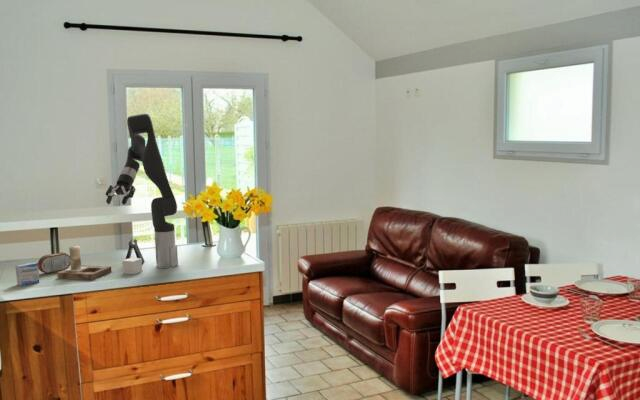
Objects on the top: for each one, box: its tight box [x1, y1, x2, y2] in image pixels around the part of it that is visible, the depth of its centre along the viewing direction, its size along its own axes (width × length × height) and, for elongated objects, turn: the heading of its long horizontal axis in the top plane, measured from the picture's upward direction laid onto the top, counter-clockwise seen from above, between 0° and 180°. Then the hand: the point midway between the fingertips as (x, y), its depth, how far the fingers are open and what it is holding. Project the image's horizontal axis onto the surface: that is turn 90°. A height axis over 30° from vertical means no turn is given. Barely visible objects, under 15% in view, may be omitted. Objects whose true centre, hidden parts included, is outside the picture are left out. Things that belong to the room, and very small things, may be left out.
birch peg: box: [69, 245, 82, 270], centre depth 271 cm, size 4×4×10 cm
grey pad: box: [64, 267, 87, 271], centre depth 271 cm, size 7×7×1 cm
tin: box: [37, 252, 71, 274], centre depth 277 cm, size 15×3×8 cm, turn 141°
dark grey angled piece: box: [124, 238, 145, 266], centre depth 289 cm, size 9×6×12 cm, turn 98°
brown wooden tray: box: [56, 264, 112, 281], centre depth 270 cm, size 18×14×2 cm
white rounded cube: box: [122, 257, 143, 275], centre depth 274 cm, size 6×6×6 cm
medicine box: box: [15, 261, 40, 287], centre depth 258 cm, size 8×4×9 cm, turn 138°
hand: (115, 203), depth 294 cm, fingers open, 8 cm apart
